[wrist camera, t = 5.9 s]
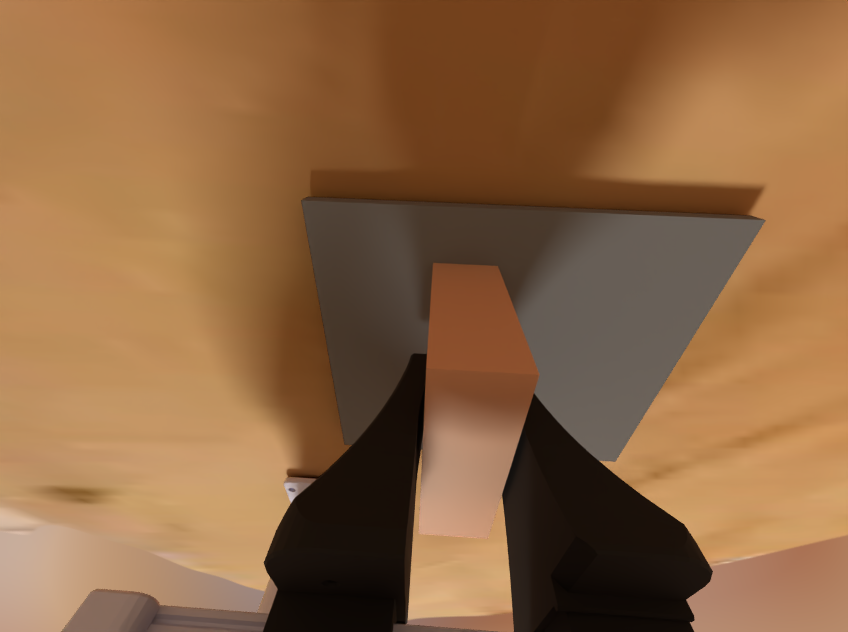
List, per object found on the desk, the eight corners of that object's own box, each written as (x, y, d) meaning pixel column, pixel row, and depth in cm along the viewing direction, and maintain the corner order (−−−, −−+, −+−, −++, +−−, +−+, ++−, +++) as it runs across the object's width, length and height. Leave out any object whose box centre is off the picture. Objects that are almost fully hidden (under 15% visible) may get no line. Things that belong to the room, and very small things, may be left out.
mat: (610, 452, 18) (615, 461, 18) (347, 436, 19) (344, 444, 18) (750, 215, 11) (765, 220, 10) (307, 196, 11) (301, 200, 11)
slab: (473, 407, 16) (487, 538, 11) (426, 404, 16) (418, 533, 11) (497, 265, 12) (539, 374, 7) (433, 263, 12) (426, 368, 7)
